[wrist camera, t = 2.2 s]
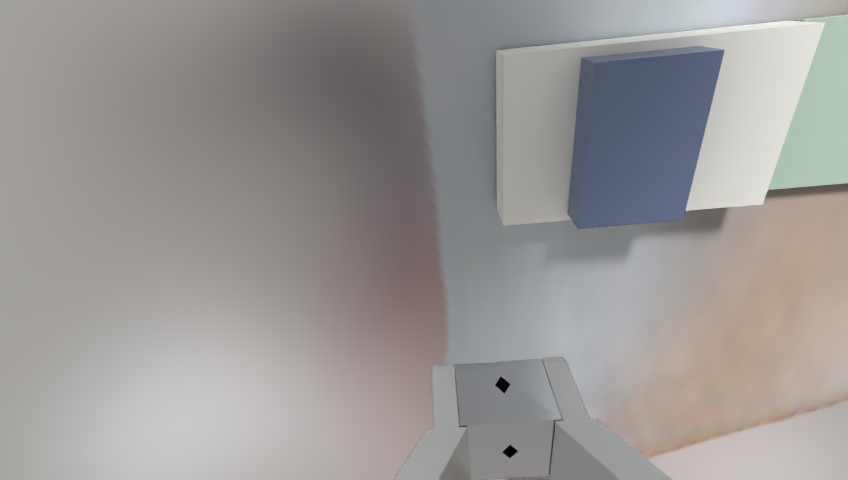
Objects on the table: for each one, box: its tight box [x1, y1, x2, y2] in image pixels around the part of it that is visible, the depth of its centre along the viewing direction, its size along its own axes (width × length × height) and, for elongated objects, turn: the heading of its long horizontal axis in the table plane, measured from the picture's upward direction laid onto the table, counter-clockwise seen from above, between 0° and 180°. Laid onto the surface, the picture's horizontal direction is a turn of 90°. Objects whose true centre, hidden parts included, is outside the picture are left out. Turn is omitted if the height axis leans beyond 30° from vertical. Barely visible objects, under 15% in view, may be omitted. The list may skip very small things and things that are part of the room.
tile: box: [567, 46, 725, 229], centre depth 23 cm, size 9×6×2 cm, turn 5°
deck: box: [496, 21, 825, 226], centre depth 25 cm, size 10×16×2 cm, turn 96°
